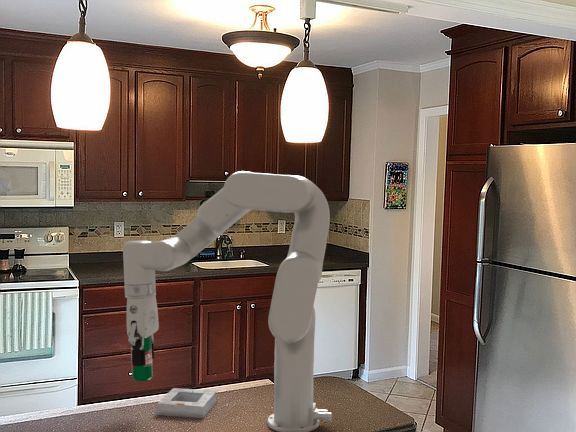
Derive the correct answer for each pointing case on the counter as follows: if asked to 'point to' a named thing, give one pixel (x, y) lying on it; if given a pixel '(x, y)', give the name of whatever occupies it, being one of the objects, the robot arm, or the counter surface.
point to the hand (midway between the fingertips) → (143, 361)
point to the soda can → (145, 371)
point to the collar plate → (186, 403)
